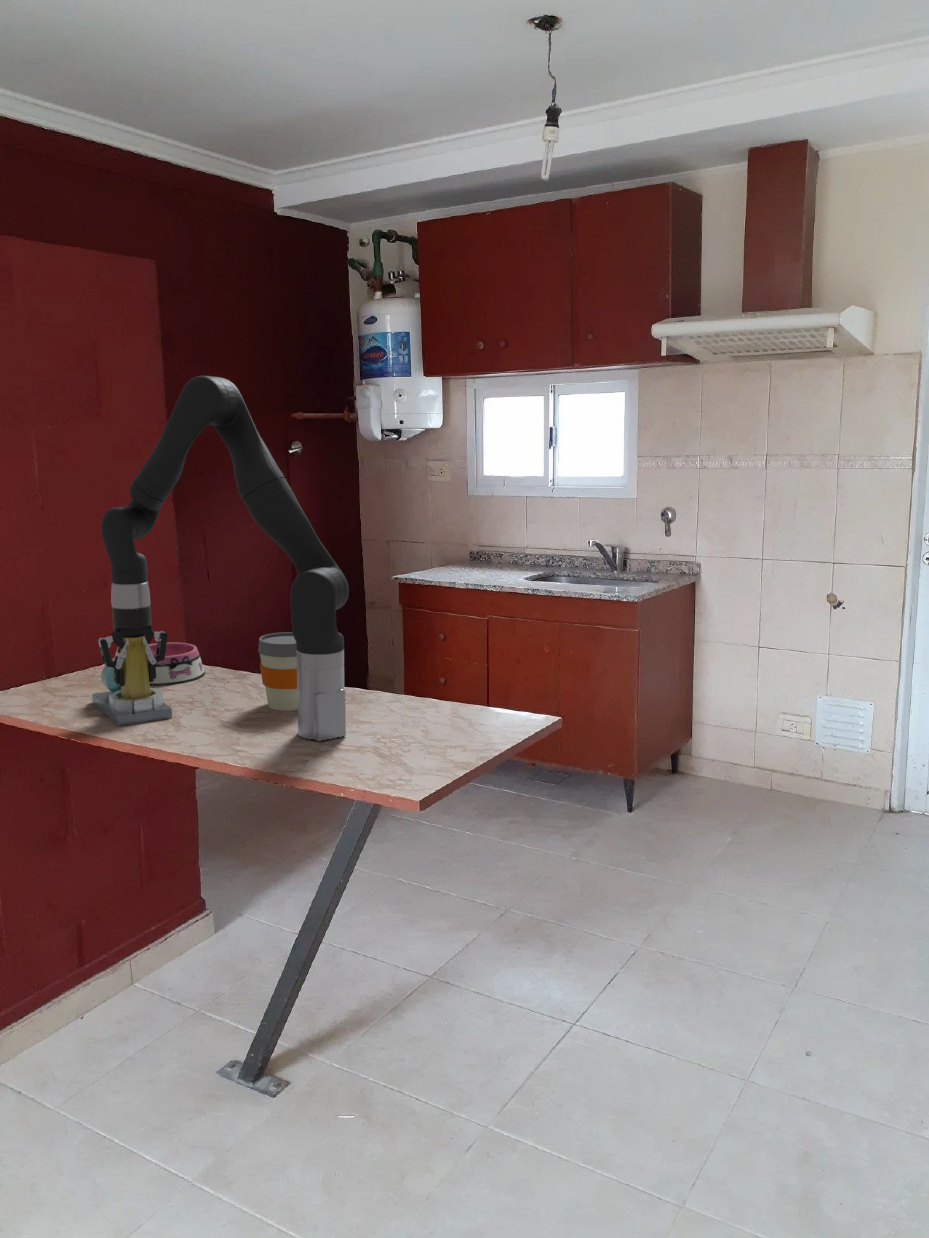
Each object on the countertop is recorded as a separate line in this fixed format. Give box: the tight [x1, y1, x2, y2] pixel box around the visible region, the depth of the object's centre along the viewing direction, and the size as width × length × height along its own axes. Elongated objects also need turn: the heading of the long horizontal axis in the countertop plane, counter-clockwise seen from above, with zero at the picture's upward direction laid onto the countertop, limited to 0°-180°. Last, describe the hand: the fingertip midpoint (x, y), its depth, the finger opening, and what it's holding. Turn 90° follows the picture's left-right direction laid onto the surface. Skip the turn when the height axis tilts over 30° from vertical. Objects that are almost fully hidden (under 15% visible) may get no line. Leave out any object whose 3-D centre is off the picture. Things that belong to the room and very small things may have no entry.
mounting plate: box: [91, 657, 173, 727], centre depth 204 cm, size 20×11×10 cm, turn 35°
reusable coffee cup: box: [257, 631, 298, 712], centre depth 209 cm, size 13×13×15 cm
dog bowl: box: [149, 641, 206, 686], centre depth 233 cm, size 18×19×7 cm
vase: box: [120, 635, 151, 699], centre depth 200 cm, size 6×6×14 cm
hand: (135, 683), depth 201 cm, fingers closed on vase, 5 cm apart
